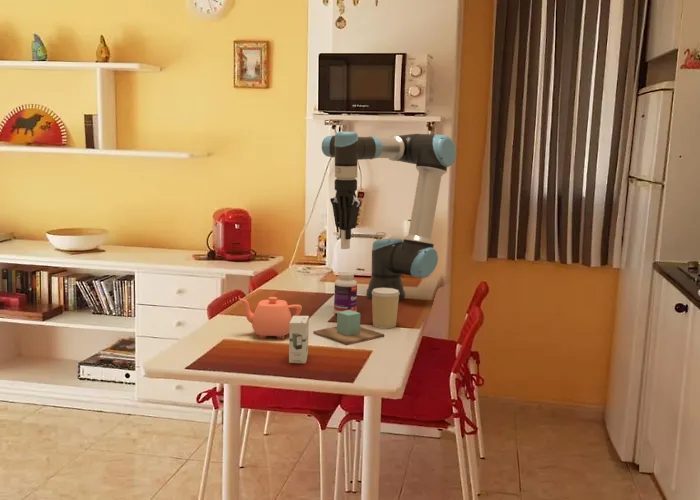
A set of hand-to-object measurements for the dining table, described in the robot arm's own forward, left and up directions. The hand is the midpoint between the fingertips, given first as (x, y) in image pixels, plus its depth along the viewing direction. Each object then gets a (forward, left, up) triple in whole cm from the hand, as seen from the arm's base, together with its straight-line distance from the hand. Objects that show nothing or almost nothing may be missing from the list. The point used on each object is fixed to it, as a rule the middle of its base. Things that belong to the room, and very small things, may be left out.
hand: (345, 248), depth 255 cm
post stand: (+10, +14, -25) cm, 31 cm away
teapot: (+30, -1, -25) cm, 40 cm away
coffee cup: (-8, +12, -25) cm, 29 cm away
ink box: (+38, +24, -25) cm, 52 cm away
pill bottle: (-8, -8, -25) cm, 28 cm away
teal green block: (+11, +15, -24) cm, 30 cm away
